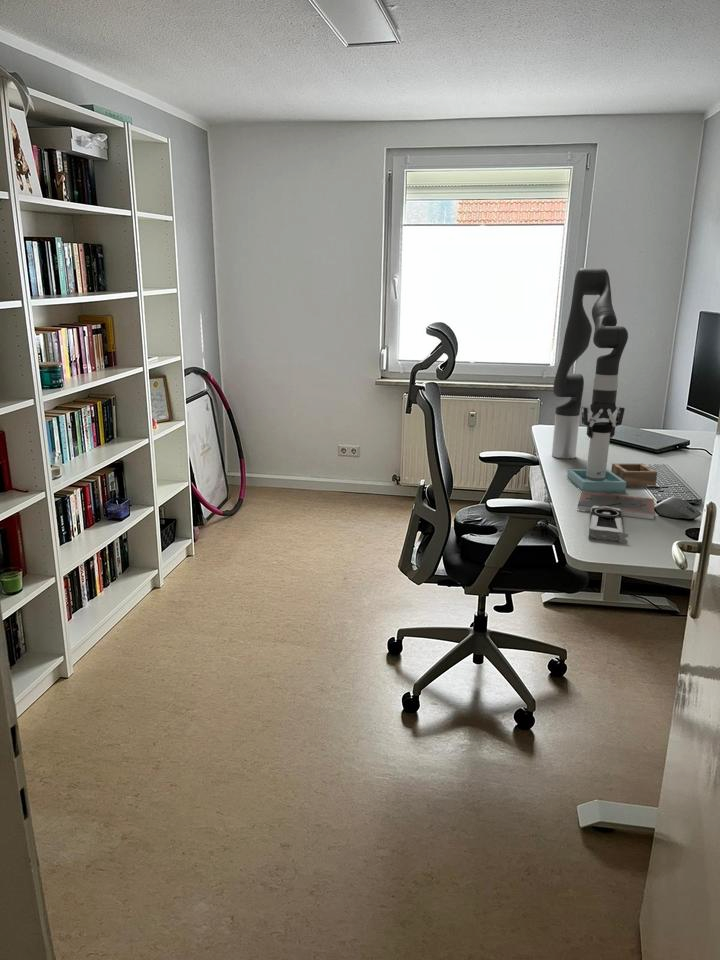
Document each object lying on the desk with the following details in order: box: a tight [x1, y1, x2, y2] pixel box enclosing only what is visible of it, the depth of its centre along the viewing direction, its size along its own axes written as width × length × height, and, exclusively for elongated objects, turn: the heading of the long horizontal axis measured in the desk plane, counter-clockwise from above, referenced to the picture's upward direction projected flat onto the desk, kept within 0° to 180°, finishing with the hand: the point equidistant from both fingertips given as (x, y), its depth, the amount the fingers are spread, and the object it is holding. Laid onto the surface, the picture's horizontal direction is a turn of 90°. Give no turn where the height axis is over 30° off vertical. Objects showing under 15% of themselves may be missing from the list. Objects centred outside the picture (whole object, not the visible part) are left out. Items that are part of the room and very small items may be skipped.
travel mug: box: [586, 421, 613, 481], centre depth 231 cm, size 6×7×20 cm
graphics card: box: [588, 506, 629, 544], centre depth 193 cm, size 10×3×25 cm
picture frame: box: [576, 491, 655, 520], centre depth 211 cm, size 16×2×22 cm
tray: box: [566, 469, 627, 493], centre depth 234 cm, size 16×14×4 cm
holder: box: [610, 462, 658, 487], centre depth 239 cm, size 12×11×5 cm
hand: (600, 437), depth 230 cm, fingers closed on travel mug, 6 cm apart
